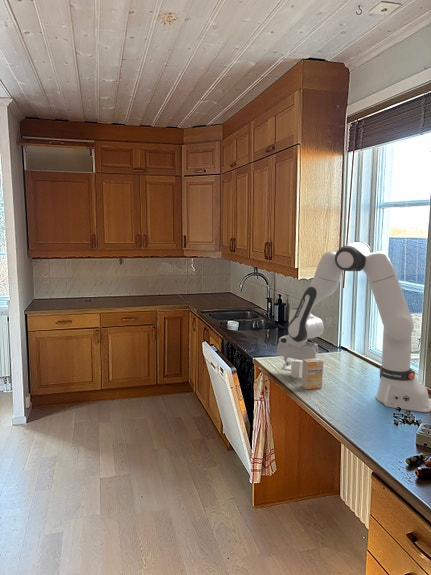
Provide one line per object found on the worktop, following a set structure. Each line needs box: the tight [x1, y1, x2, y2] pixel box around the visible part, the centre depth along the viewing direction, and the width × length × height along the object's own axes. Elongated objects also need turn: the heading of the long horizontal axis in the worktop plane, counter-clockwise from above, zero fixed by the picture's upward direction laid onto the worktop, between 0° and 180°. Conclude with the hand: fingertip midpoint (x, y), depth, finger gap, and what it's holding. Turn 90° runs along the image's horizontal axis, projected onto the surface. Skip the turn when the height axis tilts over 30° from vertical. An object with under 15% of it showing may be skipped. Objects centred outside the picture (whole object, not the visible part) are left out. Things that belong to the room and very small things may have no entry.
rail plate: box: [282, 360, 292, 372], centre depth 229 cm, size 8×7×3 cm
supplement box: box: [301, 357, 324, 390], centre depth 203 cm, size 8×5×13 cm, turn 105°
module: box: [290, 359, 303, 379], centre depth 219 cm, size 4×6×7 cm, turn 146°
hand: (296, 367), depth 219 cm, fingers open, 8 cm apart
